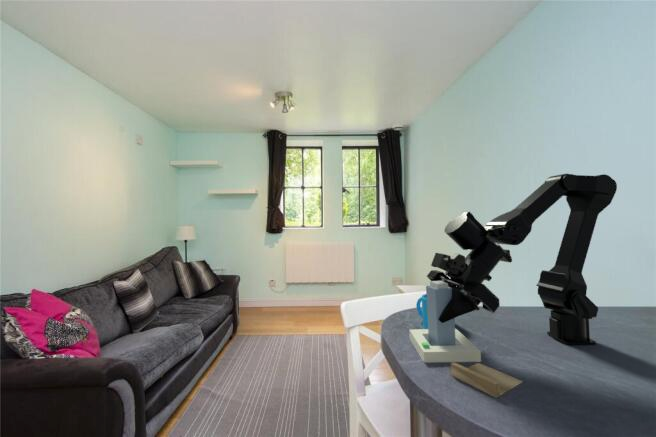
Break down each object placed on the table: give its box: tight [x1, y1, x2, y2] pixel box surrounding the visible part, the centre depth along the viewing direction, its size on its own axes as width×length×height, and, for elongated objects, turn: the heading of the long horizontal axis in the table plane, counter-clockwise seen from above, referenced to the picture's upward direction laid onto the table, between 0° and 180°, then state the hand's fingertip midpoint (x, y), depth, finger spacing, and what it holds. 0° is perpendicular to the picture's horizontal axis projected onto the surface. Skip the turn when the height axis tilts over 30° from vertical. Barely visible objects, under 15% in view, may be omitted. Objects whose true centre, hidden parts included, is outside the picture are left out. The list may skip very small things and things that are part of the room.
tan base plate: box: [450, 362, 524, 398], centre depth 50 cm, size 8×8×3 cm
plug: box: [425, 280, 456, 346], centre depth 62 cm, size 4×4×14 cm
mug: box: [415, 294, 456, 329], centre depth 79 cm, size 12×8×8 cm
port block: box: [408, 328, 482, 364], centre depth 62 cm, size 11×12×4 cm
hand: (434, 318), depth 62 cm, fingers closed on plug, 4 cm apart
